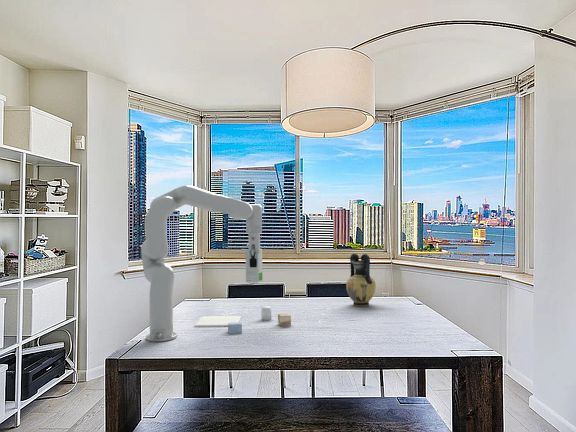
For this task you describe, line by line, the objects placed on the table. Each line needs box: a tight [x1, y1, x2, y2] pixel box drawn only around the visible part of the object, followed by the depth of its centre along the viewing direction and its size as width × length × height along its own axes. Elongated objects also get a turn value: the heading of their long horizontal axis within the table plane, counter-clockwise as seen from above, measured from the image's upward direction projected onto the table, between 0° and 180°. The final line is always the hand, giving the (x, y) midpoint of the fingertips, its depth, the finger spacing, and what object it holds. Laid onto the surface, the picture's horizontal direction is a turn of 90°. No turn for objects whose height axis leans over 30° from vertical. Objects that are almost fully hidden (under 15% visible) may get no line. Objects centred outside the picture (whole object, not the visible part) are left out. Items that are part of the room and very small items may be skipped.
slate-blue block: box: [227, 321, 243, 334], centre depth 196 cm, size 4×6×4 cm, turn 98°
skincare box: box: [245, 248, 263, 284], centre depth 211 cm, size 8×7×16 cm
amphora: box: [345, 253, 376, 307], centre depth 259 cm, size 18×17×30 cm
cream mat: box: [194, 315, 242, 328], centre depth 217 cm, size 20×20×1 cm
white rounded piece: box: [260, 305, 272, 321], centre depth 223 cm, size 5×5×6 cm
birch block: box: [277, 312, 292, 327], centre depth 210 cm, size 5×5×5 cm
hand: (254, 266), depth 211 cm, fingers closed on skincare box, 9 cm apart
